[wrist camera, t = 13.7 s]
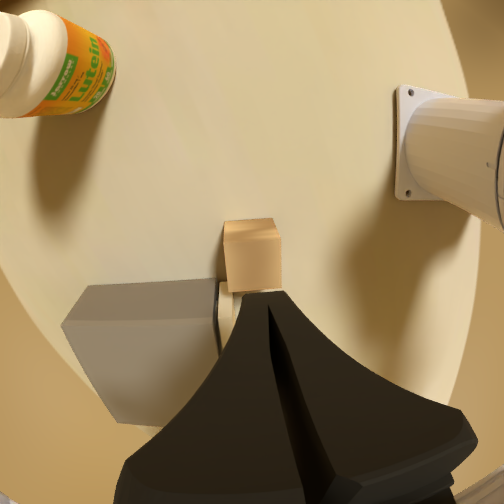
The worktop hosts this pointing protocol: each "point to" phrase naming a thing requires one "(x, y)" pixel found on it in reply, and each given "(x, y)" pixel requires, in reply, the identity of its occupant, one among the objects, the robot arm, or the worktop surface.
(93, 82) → the supplement bottle
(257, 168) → the worktop surface
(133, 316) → the grey boxy piece
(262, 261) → the block
